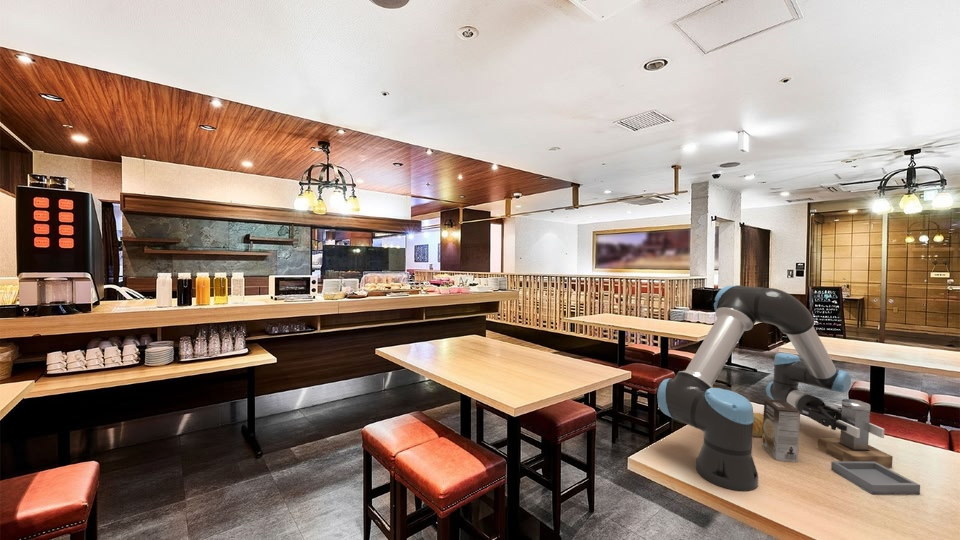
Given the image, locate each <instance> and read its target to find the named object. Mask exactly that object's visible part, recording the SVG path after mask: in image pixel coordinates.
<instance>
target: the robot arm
mask: <svg viewBox="0 0 960 540" xmlns="http://www.w3.org/2000/svg"><path fill="white" fill-rule="evenodd" d="M713 307H714V308H713V309H714V311H715V312H714V313H715V316H716V319H715V322H713V324H712V326H711V328H710V329H709V330H708V333H707V335H706V336H705V337H704V339H703V341H702V343H701V344H700V346H699V347H698V349H697V351H696V353H695V354H694V356H693V357H692V359H691V361H690V362H689V363H688V365H687V367H686V369H684V370H681V371H680V370H679V371H678V372H676V375H675V376H674V378H670V377H669V378H665V379H663V380H662V382H660V383H659V387H658V389H657V395H656V396H657V404H658V408H659V410H660V411H661V412H662V413H663V414H664V415H666V416H668V417H670V418H672V419H673V420H676V421H679V422H681V423H684V424H686V425H688V426H690V427H693V428H695V429H698V430H700V431H702V432H703V442H702V443H703V444H702V446H701V448H700V451H699V453H698V455H697V458H696V461H695V470H696V472H697V473H698V474H699V476H701V477H702V478H703V479H705V480H706V481H708V482H710V483H711V484H714V485H715V486H716V485H717V486H719V487H723V488H726V489H730V490H734V491H751V490H755V489H757V487H758V485H759V474H758V470H757V467H756V464H755V461H754V458H753V455H752V453H753V452H752V449H753V436H752V435H753V422H754V416H753V413H754V407H753V405H752V403H751V401H750V400H749V399H747V398H746V397H745V396H743V395H742V394H739V393H737V392H735V391H732V390H729V389H723V388H719V387H713V385H714V384H715V382H716V380H717V379H718V378H719V377H718V376H719V374H721V371H722V370H723V368H724V366H725V365H726V363H727V361H728V360H729V358H730V356H731V354H732V353H733V351H734V349H735V348H736V346H737V344H738V342H739V341H740V339H741V337H742V336H743V334H744V332H747V331H751V330H752V329H753V328H754V326H755V324H756V323H764V324H769V325H773V326H776V327H777V328H778V329H779V330H780V331H781V333H783V334H785V335H786V336H787V338H788V339H789V341H790V342H791V344H792V346H793V347H794V349H795V351H796V352H797V354H798V355H796V354H793V353H787V352H778V353H776V354H775V355H774V362H773V380H772V381H770V382H768V383H767V386H766V388H765V393H766V394H767V396H768V397H769V398H770V400H781V401H786V402H788V403H789V404H790V405H792V406H793V407H795V408H796V409H797V410H799V411H800V415H802V416H804V417H807V418H809V419H812V420H813V421H815V422H816V423H818V424H820V425H821V426H824V427H826V428H829V427H830V429H831V431H836V430H839V431H841V430H842V431H844V432H846V433H848V434H850V435H852V436H854V437H856V438H860V429H859V428H856V427H854V426H852V425H850V424H848V423H845V422H843V421H841V415H842V407H837V408H834V407H832V406H829V405H826V404H825V402H824V401H823V400H822V399H821V398H819V397H816V396H814V395H812V394H810V393H807V392H804V391H803V390H800V389H799V383H801V384H804V385H808V386H812V387H816V388H820V389H823V390H828V391H830V392H836V393H837V392H838V393H842V394H844V393H847V392H848V391H849V389H850V388H851V384H852V377H851V375H850V373H849V372H848V371H844V370H842V369H837V367H836V366H835V364H834V362H833V360H832V359H831V356H830V355H829V353H828V351H827V349H826V347H825V346H824V344H823V342H822V339H821V338H820V336H819V334H818V333H817V330H816V329H815V327H814V325H815V319H814V317H813V315H812V313H811V312H810V310H809V309H808V308H807V307H806V306H805V305H804V304H803V303H802V302H801V301H800V300H799V299H798V298H796V297H794V296H793V295H792V294H790V293H788V292H786V291H784V290H781V289H777V288H773V287H758V286H747V285H746V286H744V285H739V284H737V285H736V284H735V285H725V286H724V287H723V288H721V289H719V291H718V292H717V294H716V295H715V297H714V303H713ZM869 434H872V435H874V436H876V437H879V438H880V439H884V438H885V428H883V427H880V426H878V425H876V424H873V423H872V422H869Z"/></svg>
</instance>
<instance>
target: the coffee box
mask: <svg viewBox="0 0 960 540" xmlns="http://www.w3.org/2000/svg"><path fill="white" fill-rule="evenodd" d="M763 415H764V417H763V437H761V438H762V439H761V440H762V445H761V446H762V448H763V449H764V450H766V452H767V453H768V454H770V456H771V457H772V458H773V459H774V460H775V461H782V462H783V461H784V462H792V463H798V460H799V459H798V457H799V440H800V438H799V437H800V424H801V413H800V411H799V410H797V409H796V408H795V407H793V406H792V405H790V404H789V403H788V402H786V401H781V400H773V399H764V401H763Z"/></svg>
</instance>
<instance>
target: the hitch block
mask: <svg viewBox="0 0 960 540" xmlns="http://www.w3.org/2000/svg"><path fill="white" fill-rule="evenodd" d="M817 438H818V439H817V449H818V450H820V451H822V452H823V453H825V454H827V455H830V456H831V457H833V458H835V459H836V460H838V461H875V462H877V463H879V464H880V465H882V466H884V467H886V468H888V469H892V468H893V459H894V458H893V455H891V454H888V453H887V452H884V451H882V450H880V449H878V448H876V447H874V446H872V445H870V444H868V451H852V450H850V449H848V448H847V447H845V446H843V445H841V444H840V437H817Z"/></svg>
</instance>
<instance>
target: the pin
mask: <svg viewBox="0 0 960 540" xmlns="http://www.w3.org/2000/svg"><path fill="white" fill-rule="evenodd" d="M841 400H842V401H841V408H842V415H841V421H843V422H845V423H848V424H850V425H852V426H854V427H856V428H859V429H860V438H856V437H854V436H852V435H850V434H848V433H846V432H844V431H842V430H840V434H839V435H840V437H839V438H840V444H841V445H843V446H845V447H847V448H848V449H850V450H852V451H868V445H869V437H870V436H869V435H870V433H869V423H870V420H871V419H870V418H871V417H870V416H871V404H870V403H867V402H864V401H862V400H858V399H851V398H844V399H841Z"/></svg>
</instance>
